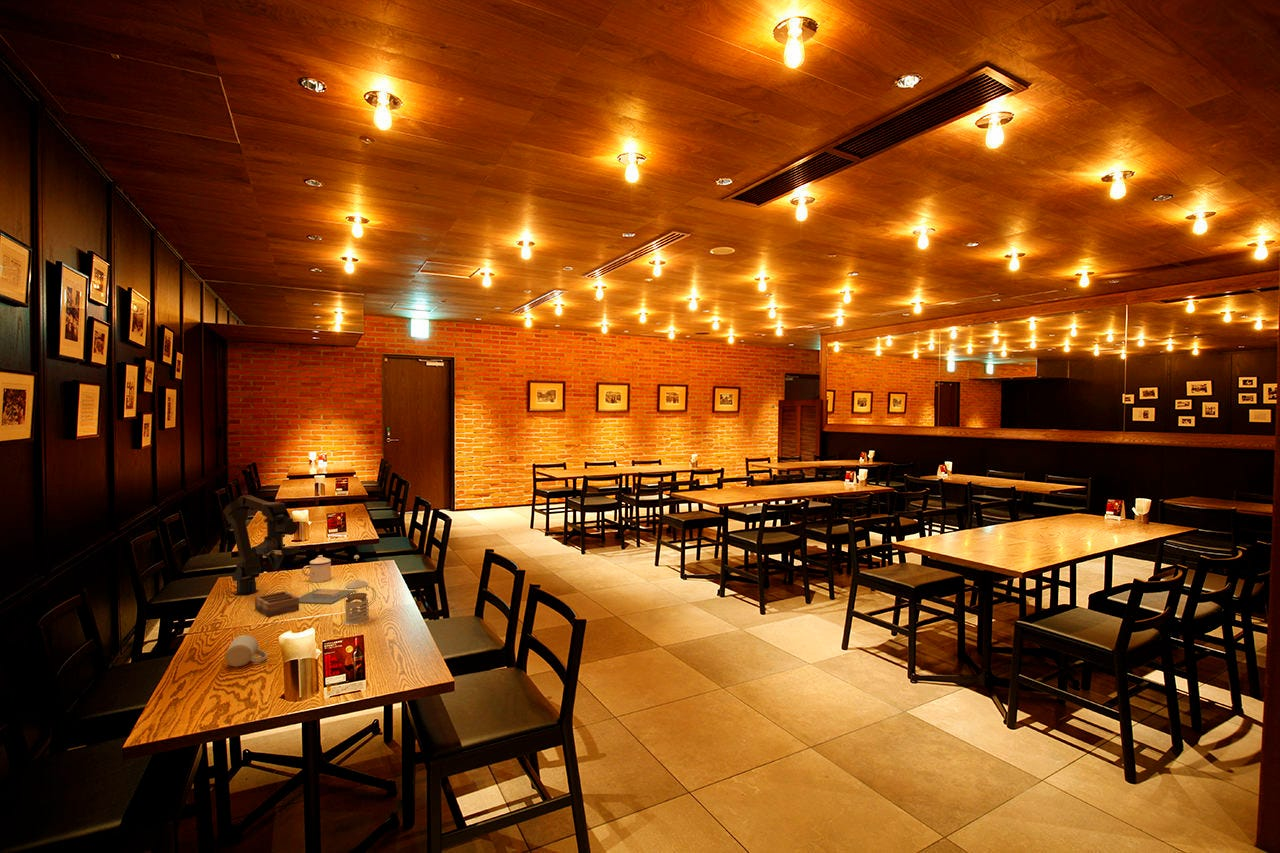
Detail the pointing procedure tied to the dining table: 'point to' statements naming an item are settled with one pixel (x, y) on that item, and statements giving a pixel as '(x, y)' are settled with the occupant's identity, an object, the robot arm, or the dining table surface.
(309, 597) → the rubber mat
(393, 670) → the dining table surface
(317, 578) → the teacup with lid
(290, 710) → the dining table surface
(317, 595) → the wooden block
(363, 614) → the french press
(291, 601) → the slot box
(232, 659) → the ceramic mug
